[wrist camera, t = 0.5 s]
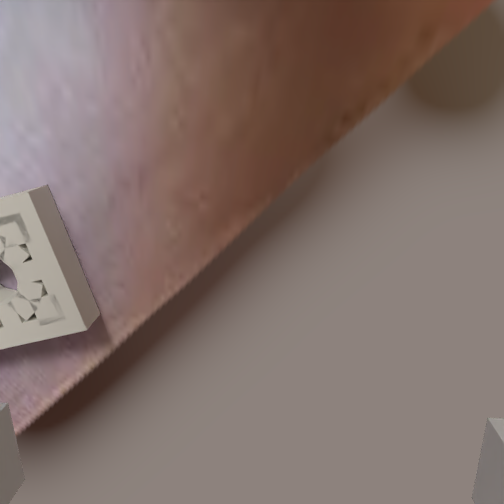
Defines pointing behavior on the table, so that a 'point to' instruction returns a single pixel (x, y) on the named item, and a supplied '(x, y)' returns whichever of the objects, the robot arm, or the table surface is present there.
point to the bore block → (40, 273)
